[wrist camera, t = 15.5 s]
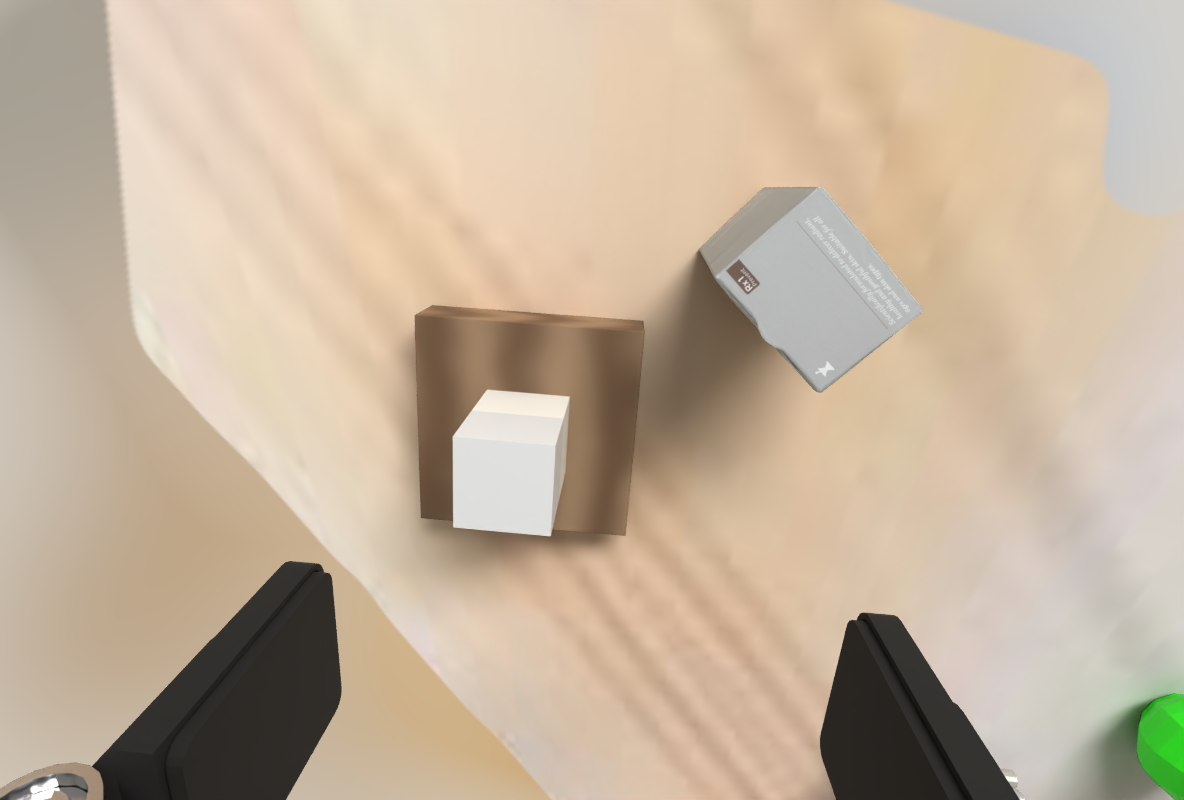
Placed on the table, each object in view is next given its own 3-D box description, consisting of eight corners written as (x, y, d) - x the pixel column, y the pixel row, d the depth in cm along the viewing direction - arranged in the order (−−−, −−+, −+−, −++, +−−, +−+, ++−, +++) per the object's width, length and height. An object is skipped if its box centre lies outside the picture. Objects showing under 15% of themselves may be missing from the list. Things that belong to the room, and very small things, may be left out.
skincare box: (838, 268, 44) (947, 307, 29) (759, 336, 45) (823, 405, 30) (762, 178, 42) (836, 169, 27) (684, 252, 44) (712, 282, 29)
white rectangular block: (569, 396, 44) (555, 445, 35) (565, 472, 45) (550, 536, 37) (487, 389, 44) (452, 436, 35) (486, 465, 46) (453, 527, 37)
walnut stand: (643, 320, 46) (644, 332, 42) (625, 510, 51) (625, 535, 47) (432, 305, 46) (414, 315, 42) (436, 494, 51) (421, 517, 47)
